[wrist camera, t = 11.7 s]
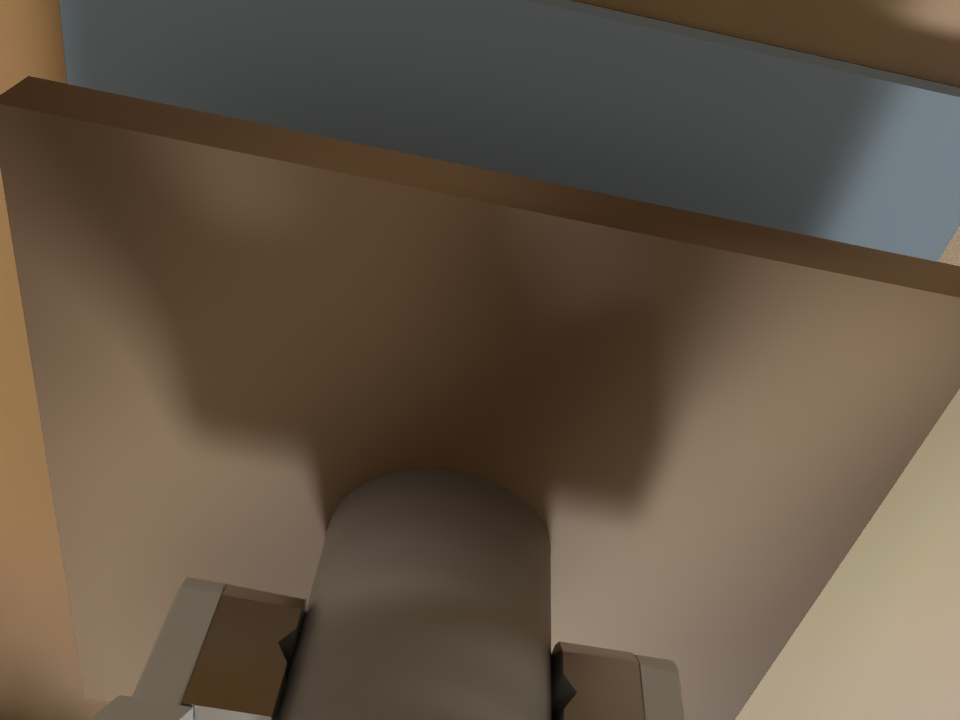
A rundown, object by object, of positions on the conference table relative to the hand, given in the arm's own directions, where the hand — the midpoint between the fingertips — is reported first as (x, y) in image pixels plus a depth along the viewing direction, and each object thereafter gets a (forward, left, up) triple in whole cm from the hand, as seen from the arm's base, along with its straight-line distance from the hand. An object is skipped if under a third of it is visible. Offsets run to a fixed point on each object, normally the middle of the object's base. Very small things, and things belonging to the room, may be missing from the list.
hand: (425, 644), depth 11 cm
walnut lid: (0, 0, -2) cm, 2 cm away
